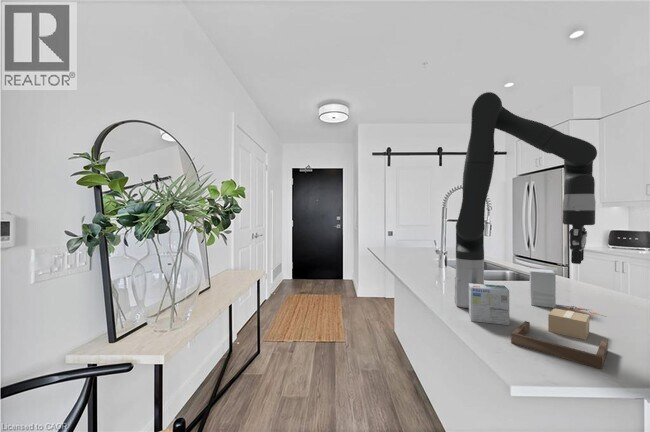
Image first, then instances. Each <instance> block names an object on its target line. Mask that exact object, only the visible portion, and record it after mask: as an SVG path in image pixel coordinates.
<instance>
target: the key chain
mask: <svg viewBox="0 0 650 432" xmlns="http://www.w3.org/2000/svg"><path fill="white" fill-rule="evenodd" d="M556 306H557V307H558V308H561V309H562V308H563V309H564V310H566V311H572V312H575V310H577V311H586V312H589V314H593V315H597V316H600V317H603V318H604V317H605V318H606V317H607V316H606V315H603V314H600V313H597V312H595V311H591V309H589V308H583V307H577V306H574V305H573V306H572V305H571V306H570V305H563V304H557V305H556ZM557 307H556V308H557Z"/></svg>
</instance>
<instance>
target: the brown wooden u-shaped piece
mask: <svg viewBox="0 0 650 432" xmlns="http://www.w3.org/2000/svg"><path fill="white" fill-rule="evenodd" d="M530 326H531V325H530V321H527V320H525V321H523V323H522V324H520V325H519V326H518V327H517V328H516V329H514V330H513V331H512V332H511V333H510V343H511V344H513V345H517V346H519V345H520V347H523V346H524V348H526V347H528V348H527V349H530V348H531V349H530V350H533V349H534V351H537V352H540V353H543V354H548V355H551V356H555V357H558V358H561V359H564V360H569V361H571V362H575V363H579V364H583V365H586V366H588V367H593V368H594V369H595V368H596V369H599V370H603V367H604V364H605V361H606V358H607V354H608V349H609V345H608V343H609V342H608V341H609V340H608V339H603V338H602V339H601V341H600V344H599V346H598V349H597V352H596V354H595V353H592V352H588V351H585V350H580V349H576V348H572V347H570V346H566V345H561V344H557V343H554V342H551V341H547V340H543V339H539V338H534V337H532V336H527V334H528V333H529V332H530V331H531V329H530V328H531V327H530ZM525 334H526V335H525ZM524 335H525V336H524ZM605 357H606V358H605Z"/></svg>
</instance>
